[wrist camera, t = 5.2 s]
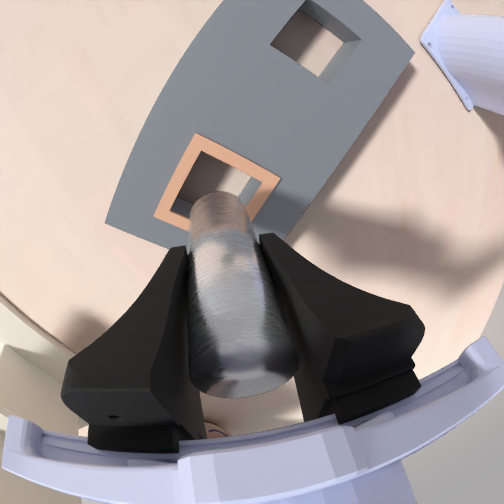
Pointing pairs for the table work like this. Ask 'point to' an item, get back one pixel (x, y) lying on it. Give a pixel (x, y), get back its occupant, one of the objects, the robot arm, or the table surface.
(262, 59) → the dock plate
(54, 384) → the desk organizer
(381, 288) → the table surface
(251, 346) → the steel pin
